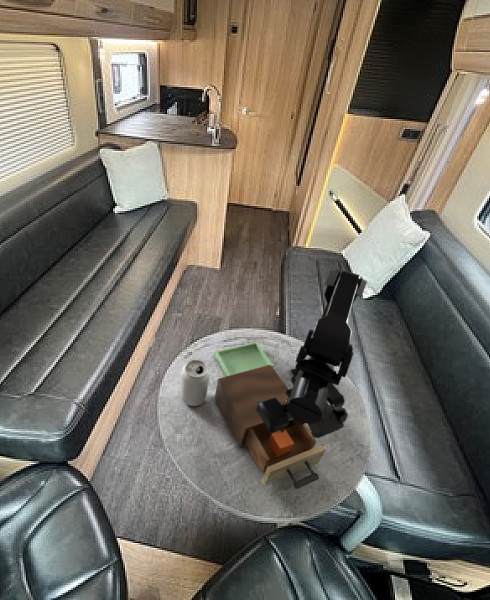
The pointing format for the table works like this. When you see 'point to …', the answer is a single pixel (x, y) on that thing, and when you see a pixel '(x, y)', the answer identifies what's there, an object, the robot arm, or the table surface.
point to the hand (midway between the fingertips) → (291, 426)
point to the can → (194, 382)
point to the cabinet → (247, 398)
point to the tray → (242, 358)
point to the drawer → (287, 463)
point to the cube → (280, 443)
